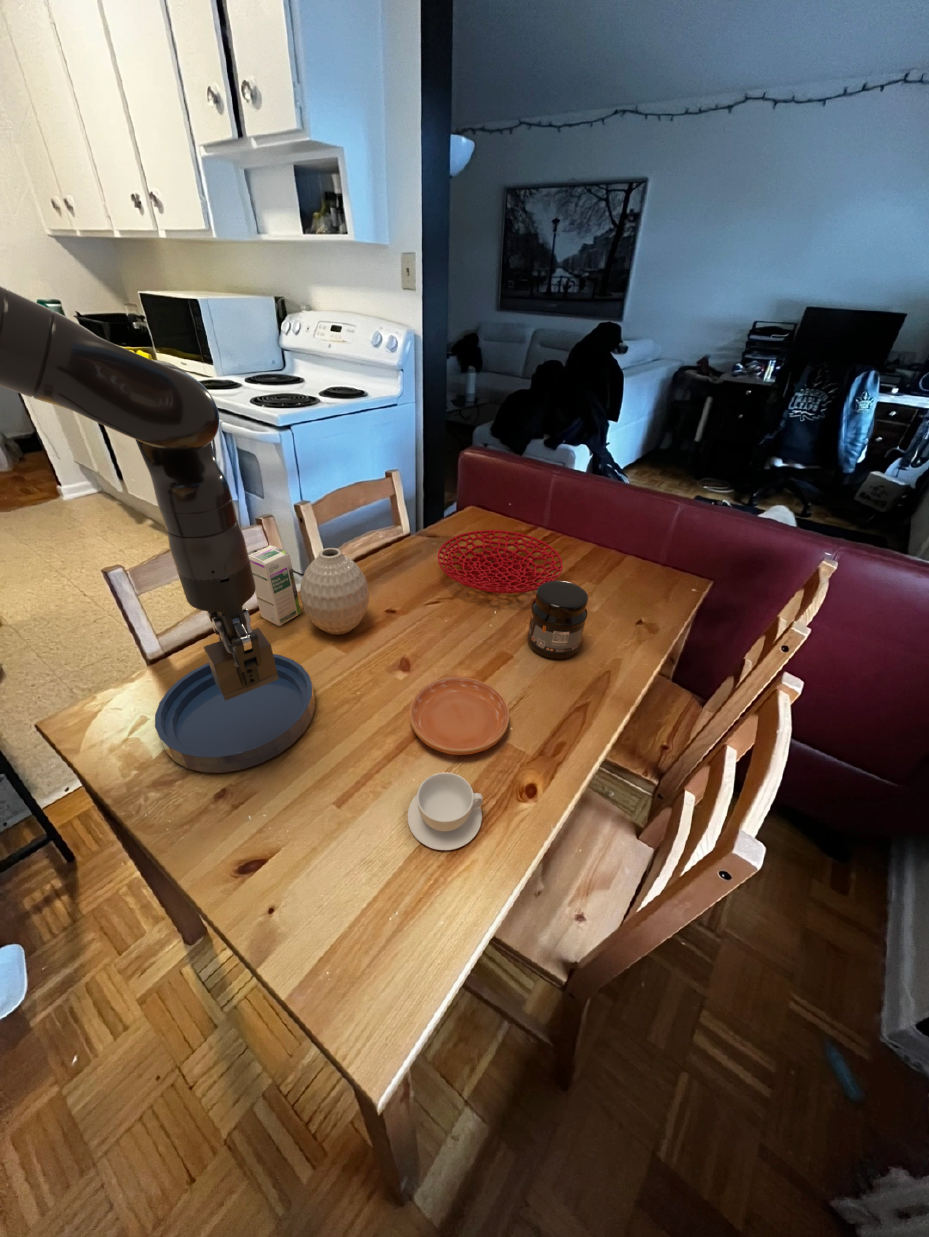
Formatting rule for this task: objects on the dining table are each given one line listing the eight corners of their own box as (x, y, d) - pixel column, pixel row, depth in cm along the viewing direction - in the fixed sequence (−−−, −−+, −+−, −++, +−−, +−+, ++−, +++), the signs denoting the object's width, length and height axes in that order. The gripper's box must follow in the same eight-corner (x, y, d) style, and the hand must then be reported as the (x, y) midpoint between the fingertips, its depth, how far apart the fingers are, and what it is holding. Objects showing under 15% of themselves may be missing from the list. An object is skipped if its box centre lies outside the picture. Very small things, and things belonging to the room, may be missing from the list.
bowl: (476, 624, 103) (478, 604, 100) (416, 561, 124) (416, 543, 121) (585, 591, 116) (589, 573, 113) (514, 539, 136) (516, 522, 133)
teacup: (410, 857, 62) (410, 836, 60) (405, 789, 70) (404, 768, 68) (488, 846, 64) (491, 825, 61) (474, 781, 72) (476, 760, 69)
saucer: (527, 736, 79) (530, 724, 77) (440, 779, 72) (441, 766, 70) (473, 677, 90) (474, 665, 88) (392, 709, 83) (391, 696, 81)
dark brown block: (225, 700, 64) (213, 665, 60) (214, 681, 66) (203, 646, 63) (279, 679, 67) (271, 644, 64) (266, 661, 70) (258, 627, 67)
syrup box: (279, 627, 99) (266, 563, 91) (260, 617, 102) (245, 554, 93) (301, 614, 103) (290, 552, 95) (282, 604, 106) (269, 543, 97)
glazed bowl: (187, 803, 67) (178, 785, 65) (147, 706, 81) (139, 688, 79) (339, 726, 79) (337, 709, 77) (282, 653, 93) (278, 636, 91)
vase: (355, 601, 108) (348, 531, 98) (382, 632, 100) (377, 558, 90) (297, 619, 102) (283, 546, 92) (320, 653, 93) (308, 576, 84)
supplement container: (553, 622, 105) (562, 573, 98) (590, 649, 98) (603, 598, 91) (515, 639, 100) (522, 588, 93) (552, 668, 93) (562, 616, 86)
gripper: (161, 544, 59) (199, 655, 69) (195, 599, 50) (233, 718, 60) (227, 529, 63) (254, 636, 73) (269, 578, 54) (293, 692, 64)
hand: (244, 673), depth 66 cm, fingers closed on dark brown block, 4 cm apart
